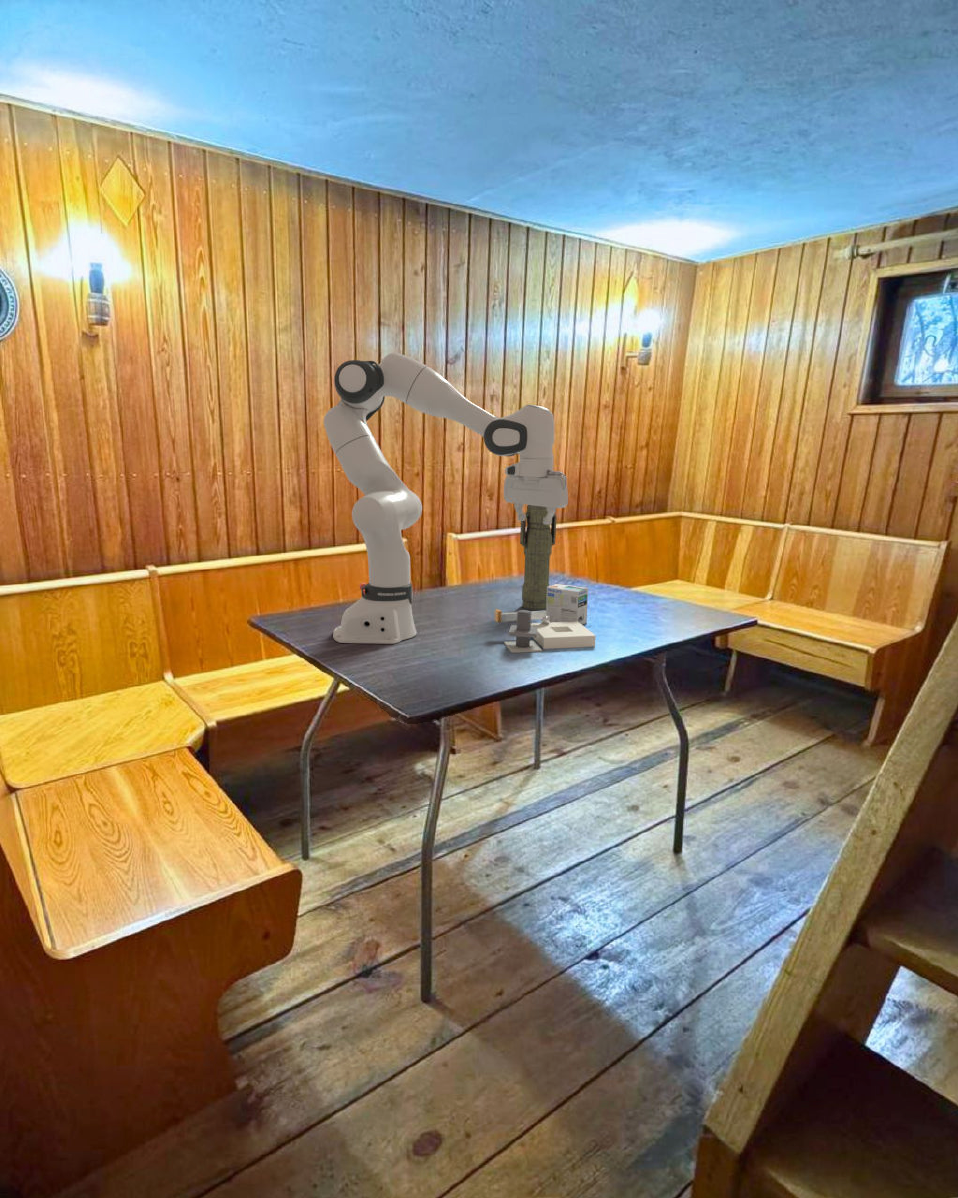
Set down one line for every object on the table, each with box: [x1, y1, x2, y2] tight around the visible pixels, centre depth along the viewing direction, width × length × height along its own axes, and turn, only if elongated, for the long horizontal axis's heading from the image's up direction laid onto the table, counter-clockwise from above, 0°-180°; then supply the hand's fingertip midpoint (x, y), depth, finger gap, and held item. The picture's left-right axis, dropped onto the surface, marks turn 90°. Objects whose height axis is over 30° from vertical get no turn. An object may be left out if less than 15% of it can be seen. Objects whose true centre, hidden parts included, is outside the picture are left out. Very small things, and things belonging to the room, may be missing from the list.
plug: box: [508, 609, 538, 647], centre depth 176 cm, size 7×7×9 cm
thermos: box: [519, 505, 557, 611], centre depth 215 cm, size 9×12×35 cm
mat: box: [503, 640, 543, 654], centre depth 177 cm, size 8×8×1 cm
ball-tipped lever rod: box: [494, 608, 550, 624], centre depth 186 cm, size 16×2×4 cm, turn 107°
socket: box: [531, 621, 596, 650], centre depth 184 cm, size 14×14×3 cm
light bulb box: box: [545, 583, 589, 626], centre depth 201 cm, size 11×7×11 cm, turn 56°
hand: (534, 522), depth 181 cm, fingers open, 8 cm apart
